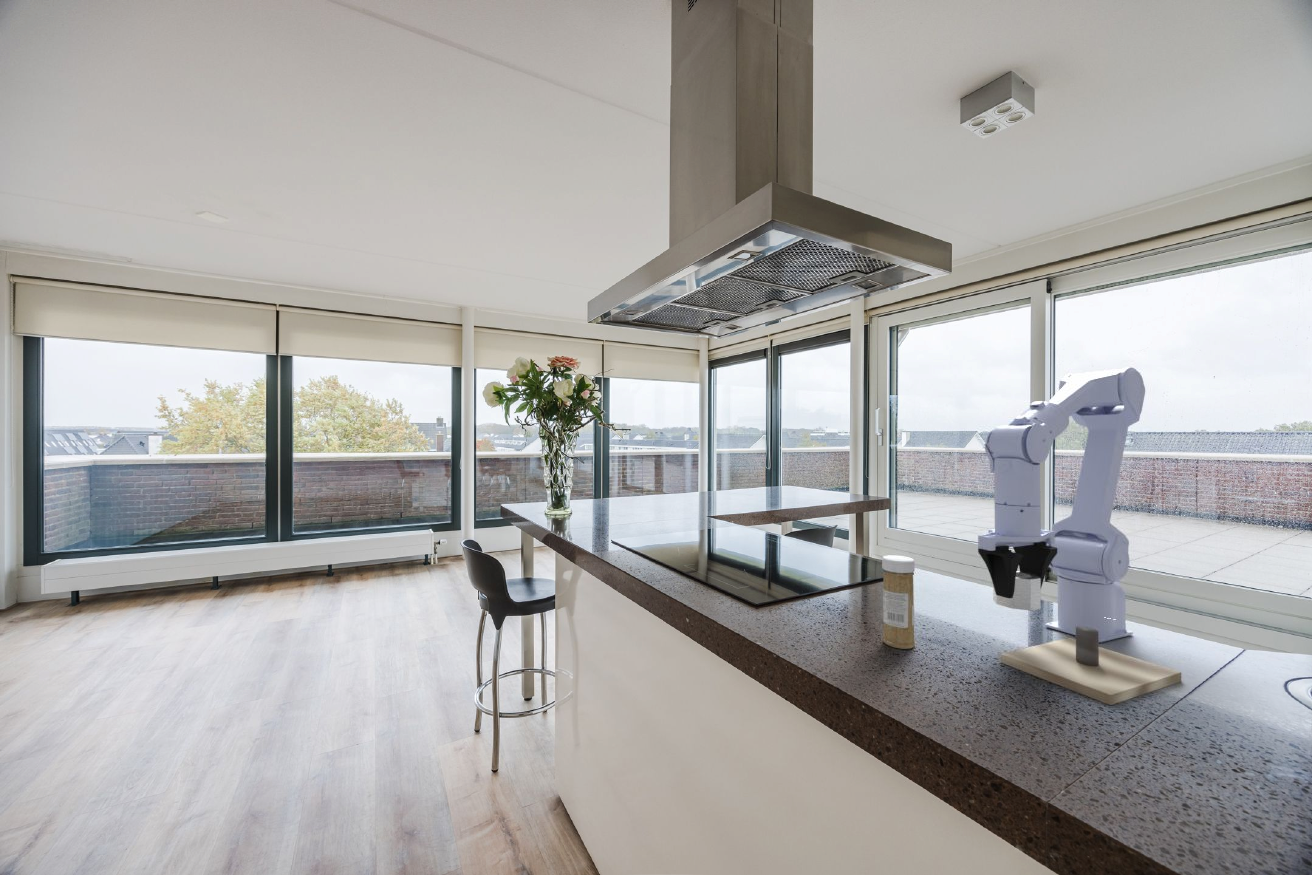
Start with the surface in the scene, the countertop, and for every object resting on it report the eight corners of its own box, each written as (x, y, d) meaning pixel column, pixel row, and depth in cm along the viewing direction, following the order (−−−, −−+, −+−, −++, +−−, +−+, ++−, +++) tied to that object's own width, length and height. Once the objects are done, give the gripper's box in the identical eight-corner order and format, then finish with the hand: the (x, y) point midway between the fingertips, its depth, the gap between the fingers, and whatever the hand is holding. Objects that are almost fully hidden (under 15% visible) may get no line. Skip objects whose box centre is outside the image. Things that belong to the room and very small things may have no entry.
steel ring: (1010, 597, 81) (1010, 569, 81) (1047, 607, 76) (1047, 577, 76) (986, 601, 79) (986, 571, 79) (1023, 611, 74) (1023, 580, 74)
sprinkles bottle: (921, 645, 79) (920, 558, 79) (904, 652, 76) (903, 562, 77) (893, 636, 83) (892, 553, 83) (876, 642, 80) (875, 556, 80)
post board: (1069, 645, 79) (1068, 608, 79) (1181, 681, 67) (1180, 637, 67) (1000, 662, 73) (1000, 622, 73) (1110, 705, 61) (1110, 656, 61)
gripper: (1021, 499, 84) (1022, 582, 84) (958, 503, 79) (959, 592, 79) (1069, 504, 78) (1070, 594, 77) (1005, 508, 72) (1005, 605, 72)
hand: (1017, 594), depth 78 cm, fingers closed on steel ring, 5 cm apart
